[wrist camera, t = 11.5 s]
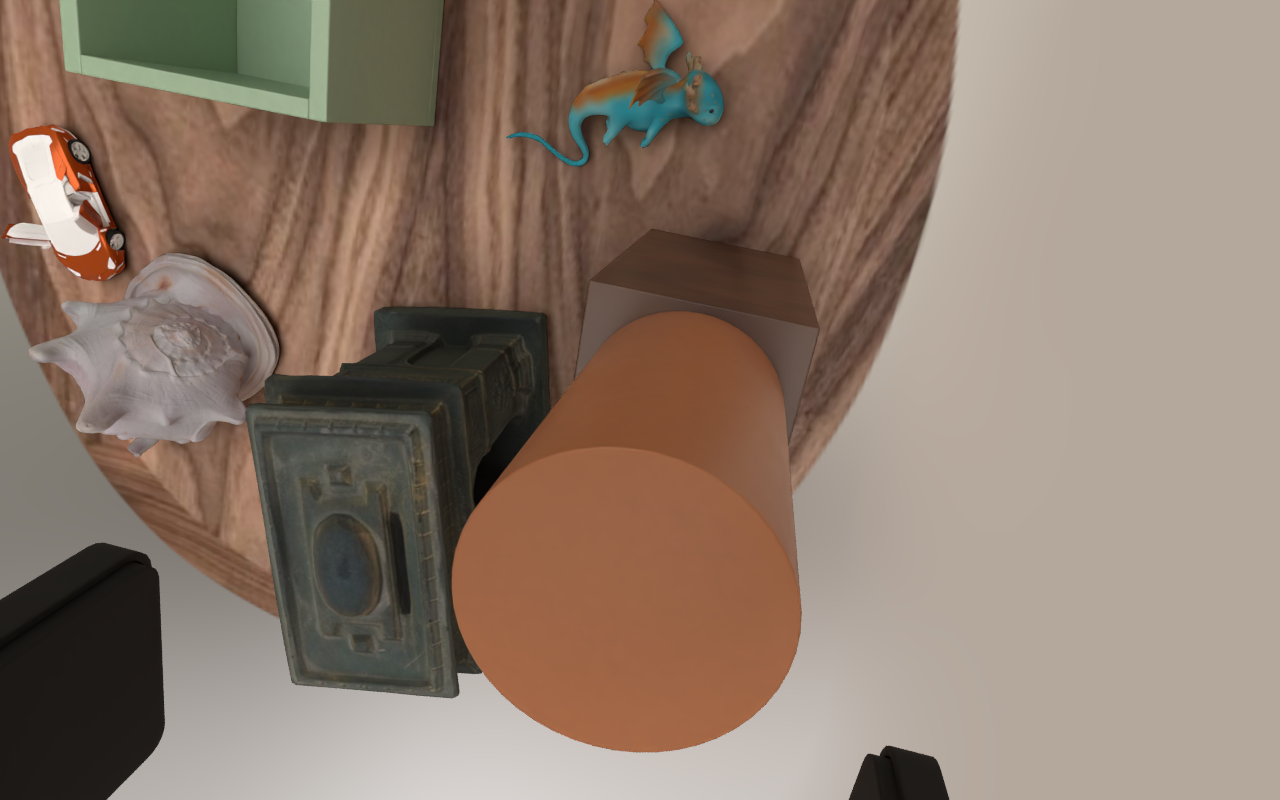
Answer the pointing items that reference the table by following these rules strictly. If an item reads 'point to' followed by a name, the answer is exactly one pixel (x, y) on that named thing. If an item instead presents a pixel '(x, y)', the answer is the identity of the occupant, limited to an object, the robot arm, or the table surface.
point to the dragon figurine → (646, 92)
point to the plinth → (709, 300)
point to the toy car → (65, 203)
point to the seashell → (166, 354)
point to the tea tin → (642, 545)
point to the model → (391, 490)
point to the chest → (269, 53)
